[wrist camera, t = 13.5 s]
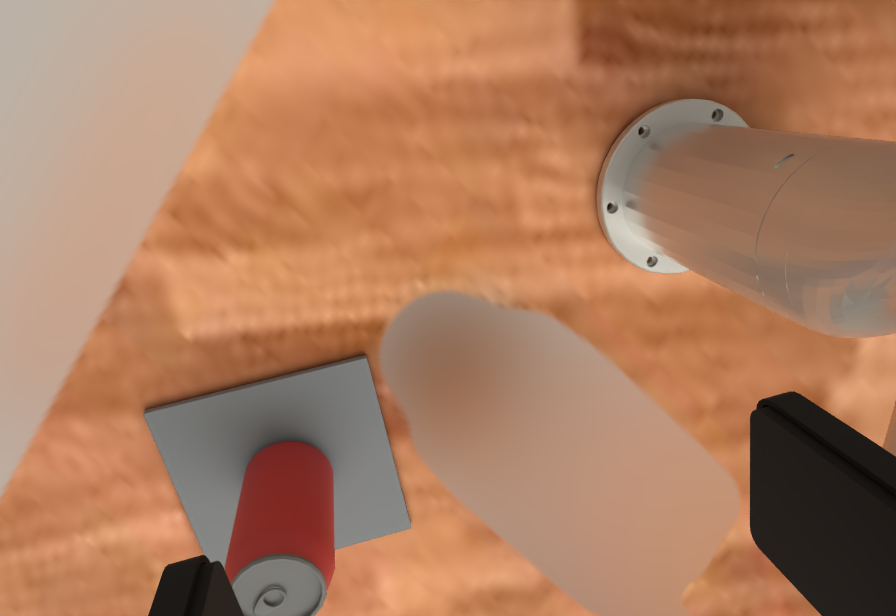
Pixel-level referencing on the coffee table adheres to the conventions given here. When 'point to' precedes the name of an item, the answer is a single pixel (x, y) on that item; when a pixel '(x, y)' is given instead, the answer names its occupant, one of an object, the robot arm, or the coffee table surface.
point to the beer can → (283, 532)
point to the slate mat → (280, 420)
